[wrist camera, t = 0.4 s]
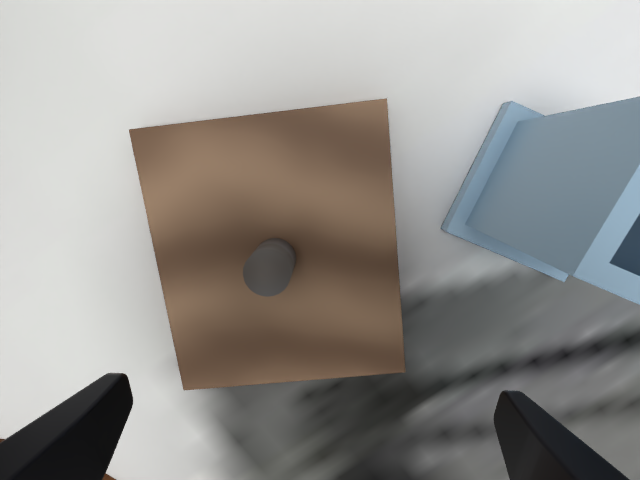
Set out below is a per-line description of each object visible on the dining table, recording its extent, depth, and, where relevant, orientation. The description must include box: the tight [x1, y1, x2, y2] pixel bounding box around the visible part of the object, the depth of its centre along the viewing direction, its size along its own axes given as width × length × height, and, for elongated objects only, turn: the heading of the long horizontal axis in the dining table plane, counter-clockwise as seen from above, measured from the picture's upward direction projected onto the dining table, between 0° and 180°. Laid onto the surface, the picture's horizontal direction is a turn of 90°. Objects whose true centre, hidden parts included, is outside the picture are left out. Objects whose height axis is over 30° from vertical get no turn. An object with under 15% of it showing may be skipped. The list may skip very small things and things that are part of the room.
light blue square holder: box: [441, 97, 640, 305], centre depth 16 cm, size 8×8×10 cm
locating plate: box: [129, 99, 405, 390], centre depth 20 cm, size 16×14×4 cm
